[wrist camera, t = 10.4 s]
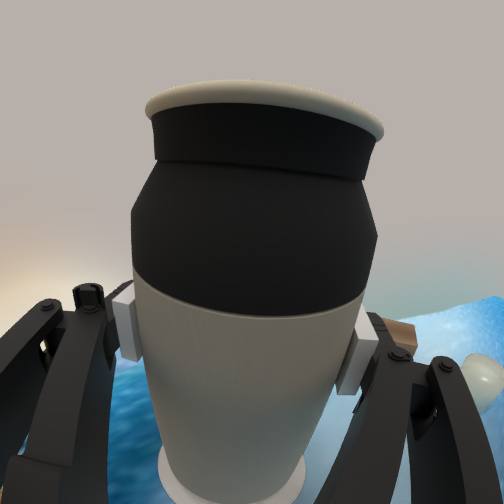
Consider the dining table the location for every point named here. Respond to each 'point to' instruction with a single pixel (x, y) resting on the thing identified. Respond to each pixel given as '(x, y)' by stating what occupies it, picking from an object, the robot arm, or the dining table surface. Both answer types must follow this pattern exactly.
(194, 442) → the travel mug
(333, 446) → the dining table surface
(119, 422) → the dining table surface
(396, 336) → the walnut block
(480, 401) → the beige rounded cylinder
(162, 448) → the saucer
